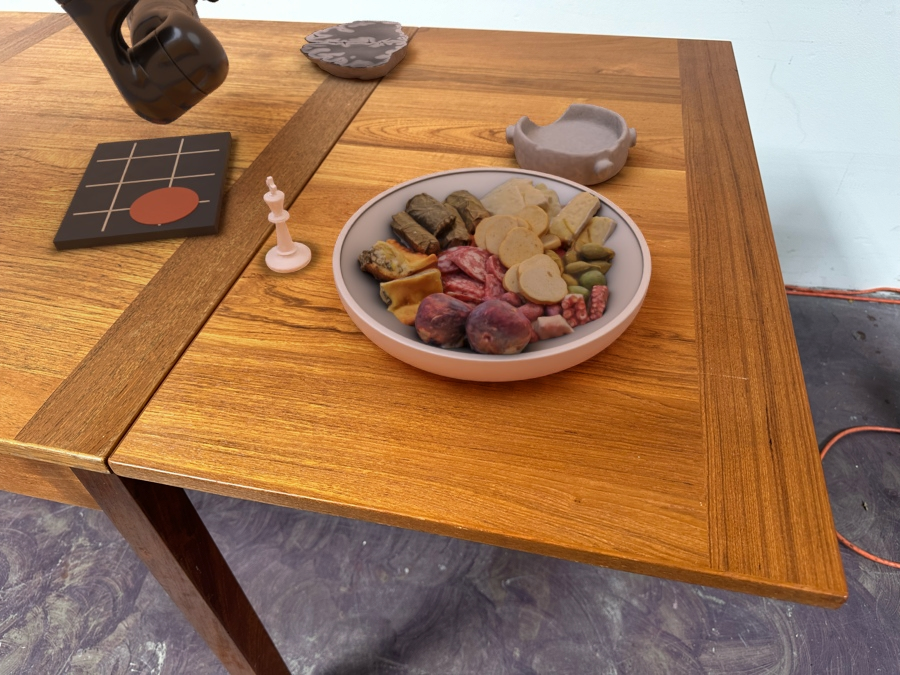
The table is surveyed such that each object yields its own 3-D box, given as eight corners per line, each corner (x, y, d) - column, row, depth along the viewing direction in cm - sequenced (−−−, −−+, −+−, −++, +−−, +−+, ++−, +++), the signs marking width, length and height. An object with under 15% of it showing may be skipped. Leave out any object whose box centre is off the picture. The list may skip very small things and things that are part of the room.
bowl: (349, 209, 77) (341, 147, 72) (606, 199, 78) (616, 137, 72) (325, 408, 56) (310, 342, 50) (680, 393, 56) (703, 326, 51)
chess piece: (276, 281, 68) (254, 197, 61) (258, 257, 71) (235, 174, 64) (320, 264, 70) (304, 181, 63) (301, 241, 73) (283, 159, 66)
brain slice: (316, 38, 116) (313, 20, 113) (413, 38, 115) (412, 20, 113) (292, 86, 102) (289, 67, 99) (403, 86, 101) (401, 67, 99)
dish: (491, 163, 84) (493, 126, 80) (560, 125, 91) (563, 90, 87) (585, 207, 77) (590, 168, 73) (651, 162, 83) (659, 125, 80)
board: (58, 252, 72) (51, 240, 71) (102, 153, 88) (97, 142, 87) (217, 236, 74) (213, 224, 73) (233, 141, 89) (230, 130, 88)
